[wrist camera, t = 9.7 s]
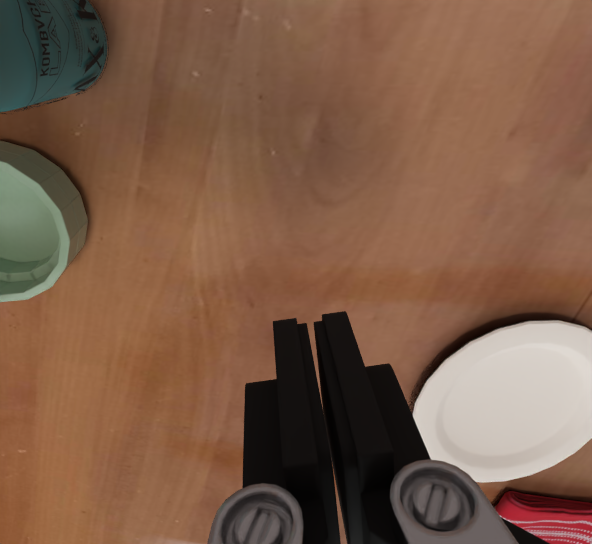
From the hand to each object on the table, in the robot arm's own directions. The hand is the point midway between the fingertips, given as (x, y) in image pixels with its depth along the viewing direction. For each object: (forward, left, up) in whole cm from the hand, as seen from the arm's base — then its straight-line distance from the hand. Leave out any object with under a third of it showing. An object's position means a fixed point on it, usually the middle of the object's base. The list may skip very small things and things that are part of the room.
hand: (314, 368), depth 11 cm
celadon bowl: (+2, -19, -25) cm, 32 cm away
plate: (+28, +20, -25) cm, 43 cm away
